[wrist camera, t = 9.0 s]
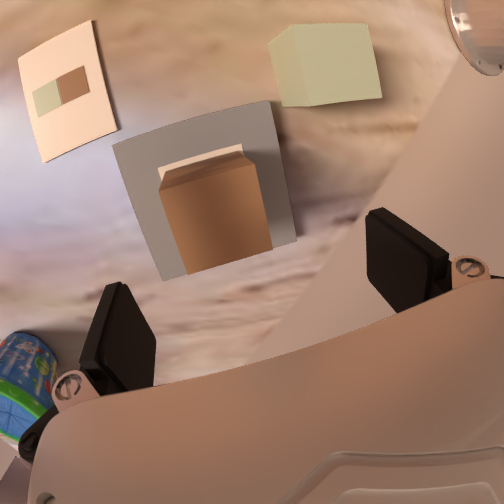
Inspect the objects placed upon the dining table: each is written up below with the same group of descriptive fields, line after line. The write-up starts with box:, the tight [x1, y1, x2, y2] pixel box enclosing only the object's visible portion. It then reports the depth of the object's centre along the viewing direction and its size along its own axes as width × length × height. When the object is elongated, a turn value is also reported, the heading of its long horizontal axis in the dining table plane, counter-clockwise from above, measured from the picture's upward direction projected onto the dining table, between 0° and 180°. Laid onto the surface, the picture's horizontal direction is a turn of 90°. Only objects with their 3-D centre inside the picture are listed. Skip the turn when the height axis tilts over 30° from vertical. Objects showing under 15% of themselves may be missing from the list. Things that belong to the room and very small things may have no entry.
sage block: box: [267, 23, 382, 107], centre depth 18 cm, size 6×6×6 cm
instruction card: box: [18, 20, 118, 163], centre depth 17 cm, size 7×10×1 cm
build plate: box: [112, 100, 297, 281], centre depth 23 cm, size 12×12×1 cm
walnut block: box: [158, 151, 273, 275], centre depth 20 cm, size 6×6×6 cm
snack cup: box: [0, 333, 58, 442], centre depth 22 cm, size 16×10×10 cm
